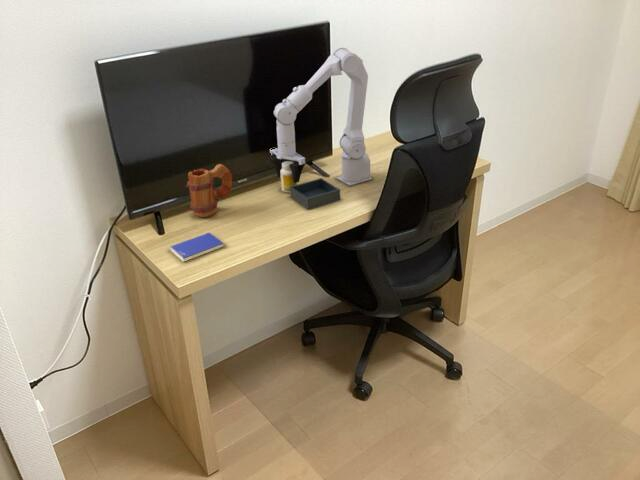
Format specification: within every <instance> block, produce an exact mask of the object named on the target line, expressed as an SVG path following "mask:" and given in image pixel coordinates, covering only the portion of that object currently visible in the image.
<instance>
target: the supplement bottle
mask: <svg viewBox="0 0 640 480" xmlns="http://www.w3.org/2000/svg"><path fill="white" fill-rule="evenodd" d="M292 163H294V161H291V160H287V161H286V160H285V161H284V162H283V163H282V169H281V171H280V176H281V177H280V189H281V191H282V192H283V193H290V187H292V186H296V185H298V182H297V183H294V182H293V175H292V171H291V168H290V166H289V164H292ZM290 194H291V193H290Z"/></svg>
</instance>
